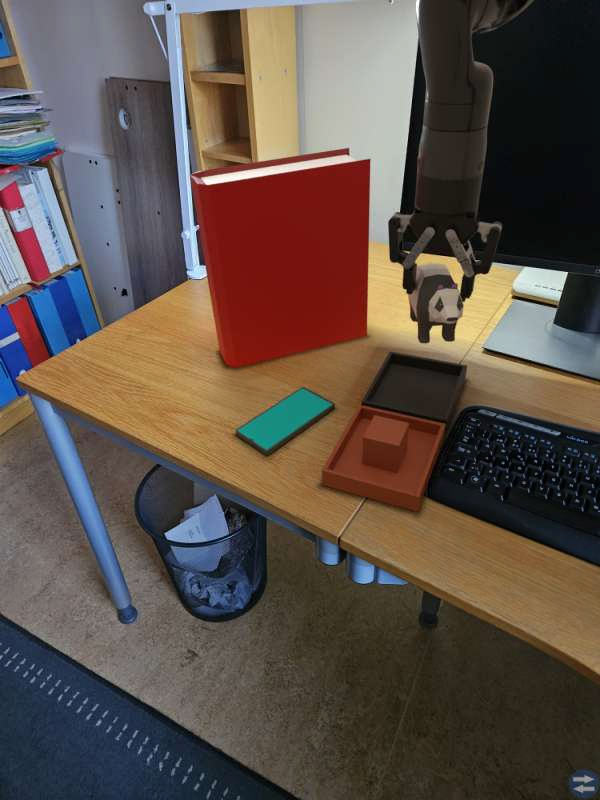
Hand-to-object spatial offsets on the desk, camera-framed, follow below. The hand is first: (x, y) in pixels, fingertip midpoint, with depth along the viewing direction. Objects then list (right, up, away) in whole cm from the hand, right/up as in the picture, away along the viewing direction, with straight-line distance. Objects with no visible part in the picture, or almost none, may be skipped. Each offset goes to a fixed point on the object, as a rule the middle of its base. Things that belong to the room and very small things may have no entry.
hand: (436, 295), depth 75 cm
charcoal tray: (0, -14, +15) cm, 20 cm away
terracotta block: (-6, -22, +3) cm, 23 cm away
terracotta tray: (-6, -23, +4) cm, 24 cm away
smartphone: (-21, -18, +12) cm, 30 cm away
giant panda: (0, -5, +4) cm, 6 cm away
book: (-20, -3, +31) cm, 37 cm away
